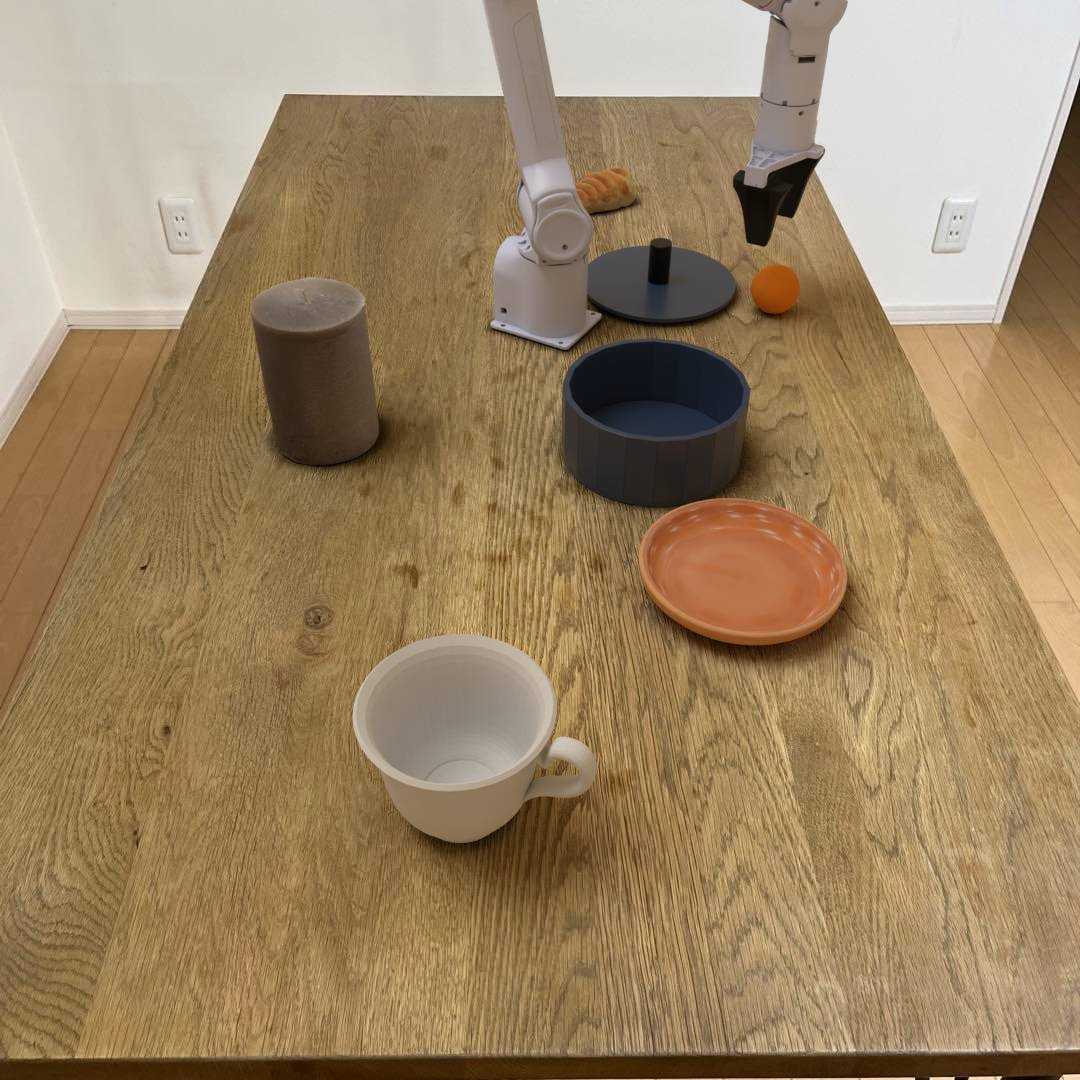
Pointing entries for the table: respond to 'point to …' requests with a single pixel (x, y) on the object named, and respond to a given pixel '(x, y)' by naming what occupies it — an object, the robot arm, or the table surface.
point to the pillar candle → (316, 369)
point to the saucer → (742, 571)
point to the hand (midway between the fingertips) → (770, 229)
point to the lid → (659, 283)
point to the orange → (775, 288)
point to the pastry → (606, 190)
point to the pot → (653, 421)
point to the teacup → (464, 734)
